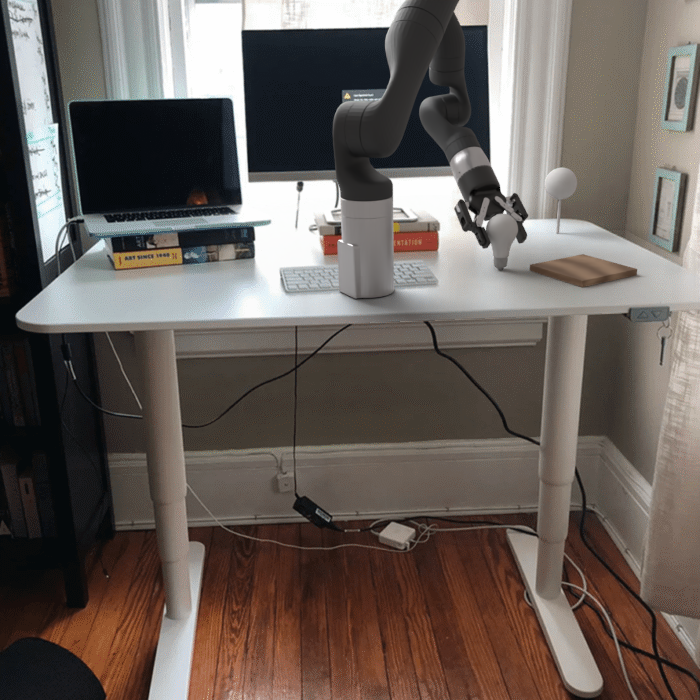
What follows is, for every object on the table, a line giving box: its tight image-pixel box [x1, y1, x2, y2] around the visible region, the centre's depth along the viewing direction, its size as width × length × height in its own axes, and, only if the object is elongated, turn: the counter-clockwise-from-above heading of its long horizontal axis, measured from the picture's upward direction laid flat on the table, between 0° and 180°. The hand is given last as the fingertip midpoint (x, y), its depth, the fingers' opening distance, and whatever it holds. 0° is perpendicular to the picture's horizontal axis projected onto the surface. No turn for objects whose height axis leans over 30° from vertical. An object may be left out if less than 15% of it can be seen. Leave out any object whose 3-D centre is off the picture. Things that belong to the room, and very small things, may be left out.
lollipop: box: [544, 167, 578, 234], centre depth 182 cm, size 7×7×15 cm
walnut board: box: [529, 253, 638, 288], centre depth 153 cm, size 14×14×1 cm
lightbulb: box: [485, 213, 518, 271], centre depth 155 cm, size 6×6×11 cm
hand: (505, 243), depth 154 cm, fingers open, 8 cm apart
